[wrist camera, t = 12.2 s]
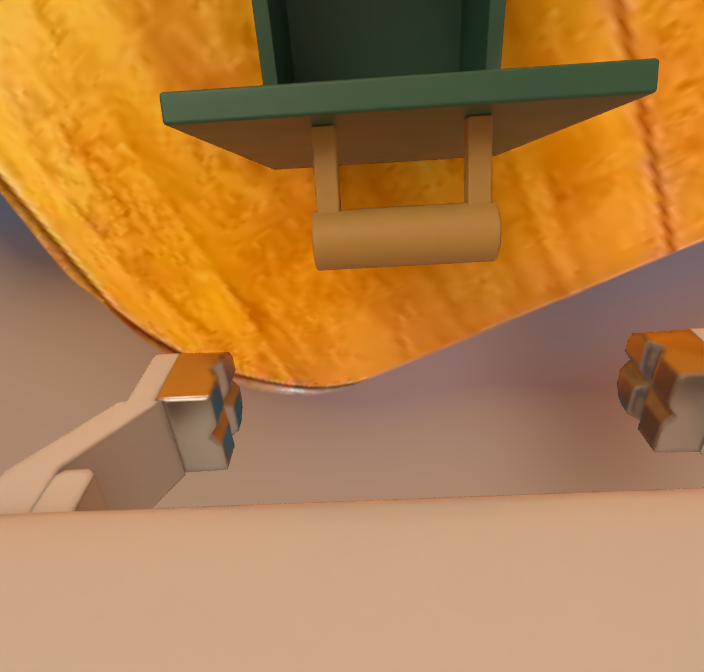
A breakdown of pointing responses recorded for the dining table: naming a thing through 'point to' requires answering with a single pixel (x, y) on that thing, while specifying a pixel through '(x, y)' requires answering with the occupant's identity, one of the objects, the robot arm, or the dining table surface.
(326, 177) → the lid
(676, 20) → the dining table surface
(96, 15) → the dining table surface
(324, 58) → the toy box
